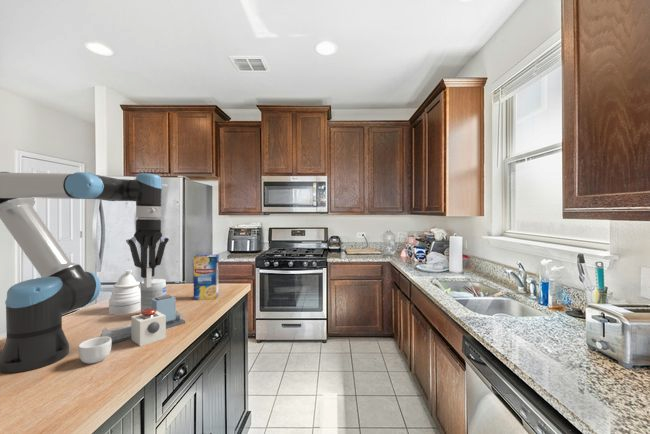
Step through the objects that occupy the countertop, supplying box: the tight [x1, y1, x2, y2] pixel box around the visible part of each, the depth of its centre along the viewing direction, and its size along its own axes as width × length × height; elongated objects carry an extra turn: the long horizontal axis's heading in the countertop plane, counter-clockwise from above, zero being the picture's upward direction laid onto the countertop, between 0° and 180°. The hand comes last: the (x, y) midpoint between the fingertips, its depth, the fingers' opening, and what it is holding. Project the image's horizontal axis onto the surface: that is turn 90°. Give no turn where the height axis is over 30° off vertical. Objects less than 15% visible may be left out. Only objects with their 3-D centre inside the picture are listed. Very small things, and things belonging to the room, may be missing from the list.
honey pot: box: [108, 269, 141, 315], centre depth 132 cm, size 13×13×18 cm
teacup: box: [78, 336, 113, 365], centre depth 88 cm, size 10×8×5 cm
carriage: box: [152, 294, 177, 322], centre depth 114 cm, size 7×5×9 cm, turn 141°
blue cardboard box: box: [193, 254, 220, 301], centre depth 151 cm, size 7×11×22 cm, turn 100°
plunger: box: [140, 309, 156, 320], centre depth 101 cm, size 4×4×8 cm
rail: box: [100, 311, 186, 345], centre depth 109 cm, size 25×10×3 cm, turn 141°
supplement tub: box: [140, 278, 167, 312], centre depth 125 cm, size 10×10×15 cm
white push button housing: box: [130, 311, 167, 347], centre depth 101 cm, size 8×8×8 cm
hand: (147, 286), depth 101 cm, fingers closed
